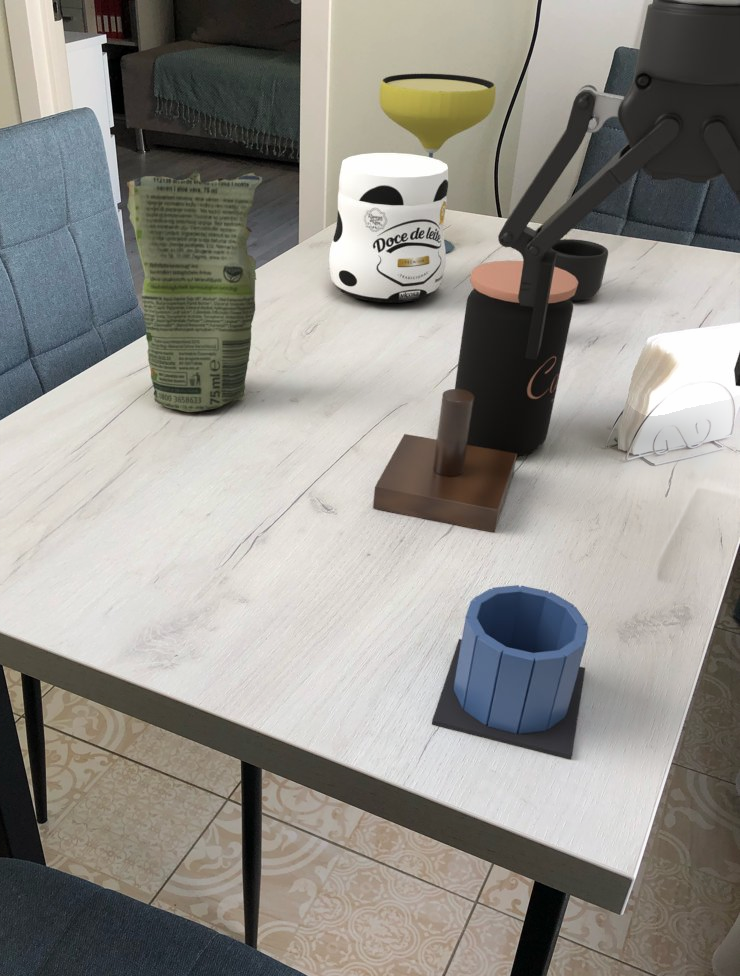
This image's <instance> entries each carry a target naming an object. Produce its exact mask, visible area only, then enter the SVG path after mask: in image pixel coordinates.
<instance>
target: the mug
mask: <svg viewBox="0 0 740 976" xmlns="http://www.w3.org/2000/svg"><path fill="white" fill-rule="evenodd" d="M548 251H554V252H557V255H556V261H555V266H554V267H557V268H560V269H562V270H565V271H567V272H569V273H570V274H572V275H573V276H575V277H576V279H577V281H578V286H577V289H576V292H575V295H574V296H572V298H571V299H570V301H571V302H581V301H585V300H588V299H592V298H593V297H595V296H597V294H598V292H599V291H600V290H601V288H602V285H603V280H604V275H605V271H606V266H607V261H608V258H609V249H608V248H607V247H605V246H604V245H602V244H600V243H597V242H594V241H589V240H584V239H575V238H573V239H572V238H565V239H564V238H561V239H560V240H559V241H558V242H557V243H556V244H555V245H554V246H553V247H552V248H550V249H549V250H548Z"/></svg>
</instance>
